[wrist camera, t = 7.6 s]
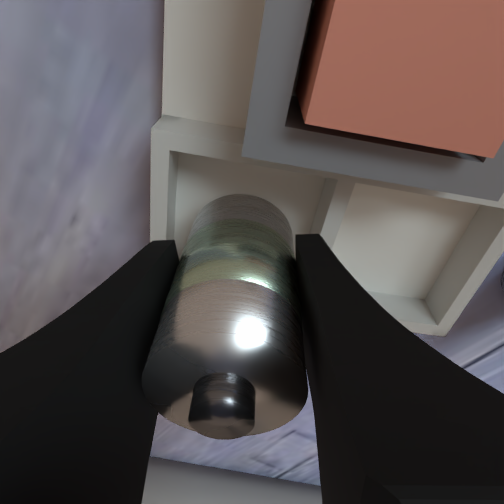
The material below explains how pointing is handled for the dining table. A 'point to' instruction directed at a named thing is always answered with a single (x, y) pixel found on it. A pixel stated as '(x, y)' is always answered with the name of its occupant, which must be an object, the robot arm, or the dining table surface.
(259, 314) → the cell
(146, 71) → the dining table surface
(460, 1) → the pad
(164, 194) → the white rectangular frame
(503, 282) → the cell
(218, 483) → the tube
